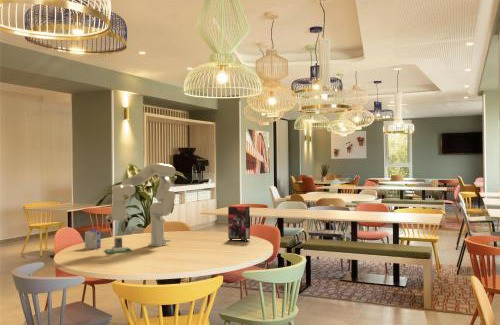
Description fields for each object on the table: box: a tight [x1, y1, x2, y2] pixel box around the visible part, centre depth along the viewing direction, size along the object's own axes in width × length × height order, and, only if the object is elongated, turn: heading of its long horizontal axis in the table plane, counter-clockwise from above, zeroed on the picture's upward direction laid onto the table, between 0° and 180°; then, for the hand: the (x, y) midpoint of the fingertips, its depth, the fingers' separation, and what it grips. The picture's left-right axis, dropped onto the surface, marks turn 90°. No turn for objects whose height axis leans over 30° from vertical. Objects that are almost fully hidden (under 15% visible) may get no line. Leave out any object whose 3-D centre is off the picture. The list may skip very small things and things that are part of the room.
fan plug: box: [114, 236, 123, 248], centre depth 308 cm, size 4×9×8 cm, turn 27°
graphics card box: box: [227, 205, 251, 240], centre depth 356 cm, size 17×7×27 cm, turn 58°
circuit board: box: [104, 245, 133, 255], centre depth 310 cm, size 16×13×3 cm
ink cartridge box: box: [84, 227, 102, 250], centre depth 323 cm, size 10×6×14 cm, turn 78°
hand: (118, 228), depth 310 cm, fingers open, 9 cm apart
